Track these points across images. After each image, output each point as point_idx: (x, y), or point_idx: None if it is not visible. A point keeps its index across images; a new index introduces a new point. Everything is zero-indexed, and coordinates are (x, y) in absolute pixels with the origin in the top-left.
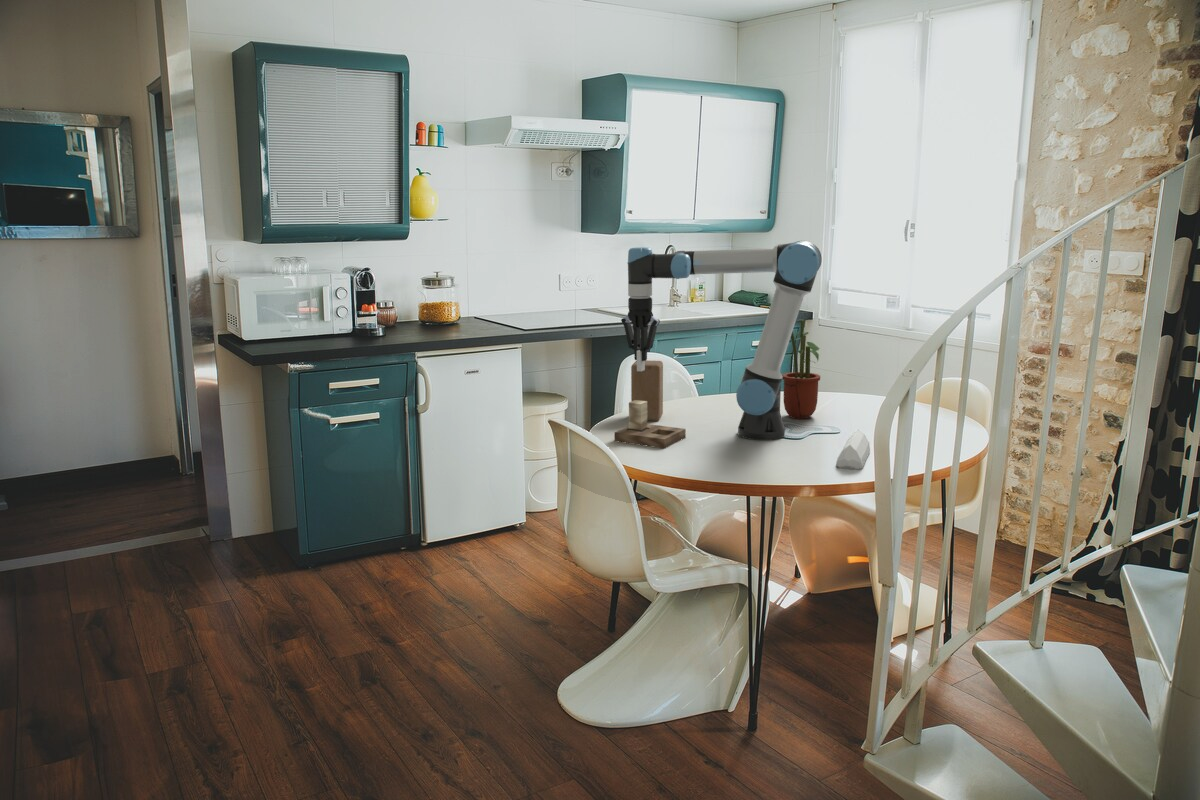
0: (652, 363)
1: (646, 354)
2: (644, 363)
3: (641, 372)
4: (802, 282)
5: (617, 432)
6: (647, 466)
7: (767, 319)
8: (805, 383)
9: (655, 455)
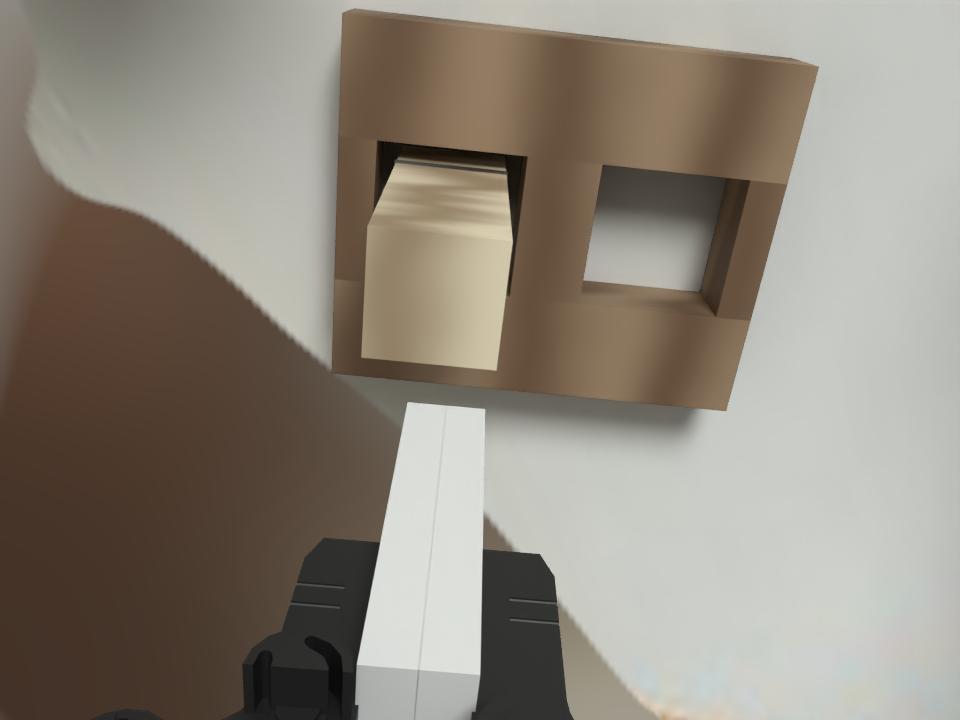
0: None
1: (557, 666)
2: (482, 483)
3: None
4: None
5: (353, 370)
6: (710, 680)
7: None
8: None
9: (696, 518)
